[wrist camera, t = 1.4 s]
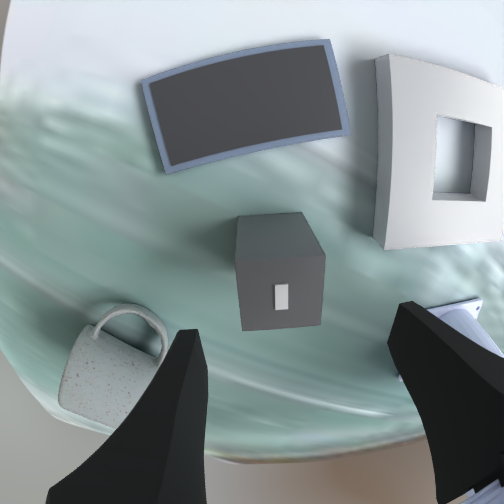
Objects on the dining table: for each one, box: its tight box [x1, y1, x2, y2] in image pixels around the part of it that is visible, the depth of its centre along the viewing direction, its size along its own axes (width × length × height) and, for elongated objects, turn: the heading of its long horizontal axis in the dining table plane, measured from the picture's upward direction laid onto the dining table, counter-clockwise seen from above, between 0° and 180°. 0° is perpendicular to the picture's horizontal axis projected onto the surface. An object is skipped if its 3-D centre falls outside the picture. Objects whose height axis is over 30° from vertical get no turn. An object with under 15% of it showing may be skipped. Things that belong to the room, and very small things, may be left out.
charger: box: [235, 212, 326, 331], centre depth 16 cm, size 4×4×6 cm
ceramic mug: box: [58, 303, 168, 429], centre depth 19 cm, size 11×8×8 cm
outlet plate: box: [372, 54, 504, 250], centre depth 15 cm, size 12×12×2 cm
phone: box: [141, 39, 351, 174], centre depth 15 cm, size 6×11×1 cm, turn 102°
